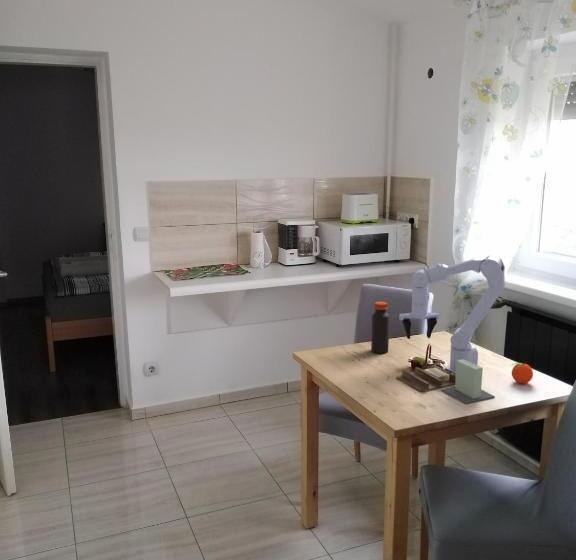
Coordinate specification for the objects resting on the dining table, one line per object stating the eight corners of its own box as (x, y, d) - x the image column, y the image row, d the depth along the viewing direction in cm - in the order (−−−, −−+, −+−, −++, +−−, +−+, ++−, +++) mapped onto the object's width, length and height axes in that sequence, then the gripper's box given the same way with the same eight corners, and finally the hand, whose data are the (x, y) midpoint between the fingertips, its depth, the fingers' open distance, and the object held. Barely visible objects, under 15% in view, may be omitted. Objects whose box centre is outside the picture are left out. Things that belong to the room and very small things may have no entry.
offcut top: (435, 370, 215) (435, 367, 214) (449, 377, 208) (449, 374, 207) (423, 372, 213) (423, 369, 212) (437, 379, 206) (438, 377, 205)
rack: (432, 370, 218) (433, 364, 218) (458, 384, 206) (458, 377, 205) (396, 378, 212) (396, 371, 211) (420, 392, 199) (420, 384, 199)
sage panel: (462, 387, 202) (463, 359, 200) (480, 396, 194) (482, 367, 192) (455, 388, 201) (456, 360, 199) (473, 398, 193) (475, 369, 191)
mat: (469, 384, 205) (469, 383, 205) (494, 397, 195) (494, 396, 194) (441, 390, 200) (441, 389, 200) (465, 404, 190) (465, 402, 190)
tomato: (505, 383, 206) (507, 364, 204) (509, 377, 212) (511, 358, 210) (530, 388, 202) (532, 368, 200) (533, 381, 208) (535, 362, 206)
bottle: (380, 355, 235) (382, 306, 231) (367, 351, 240) (368, 303, 235) (391, 351, 239) (393, 303, 235) (378, 347, 244) (379, 300, 240)
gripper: (403, 305, 215) (402, 341, 218) (442, 304, 216) (440, 340, 219) (398, 301, 222) (397, 335, 225) (436, 299, 223) (434, 334, 226)
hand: (418, 337), depth 223 cm, fingers open, 7 cm apart
